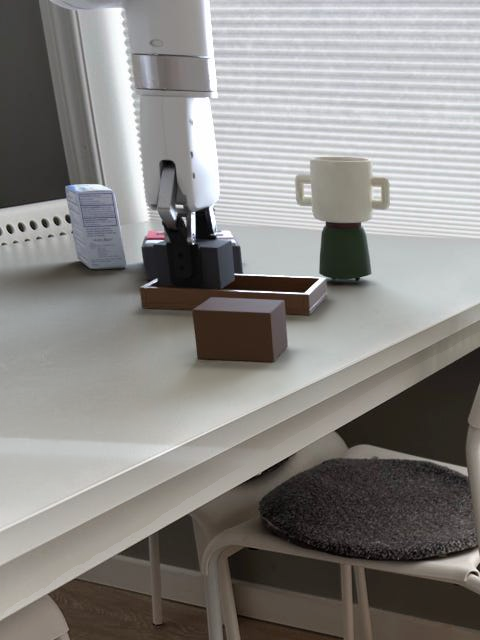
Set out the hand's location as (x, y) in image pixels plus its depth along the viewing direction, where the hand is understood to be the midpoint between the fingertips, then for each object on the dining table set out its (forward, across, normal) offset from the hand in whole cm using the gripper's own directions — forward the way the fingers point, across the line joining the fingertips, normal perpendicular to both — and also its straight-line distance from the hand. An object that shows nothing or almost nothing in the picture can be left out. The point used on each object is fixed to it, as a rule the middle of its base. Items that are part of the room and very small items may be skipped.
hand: (196, 277), depth 99 cm
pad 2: (+2, +21, +10) cm, 23 cm away
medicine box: (+2, -19, -18) cm, 26 cm away
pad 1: (+1, 0, 0) cm, 1 cm away
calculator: (+2, -18, -6) cm, 19 cm away
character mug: (+2, -15, +13) cm, 20 cm away
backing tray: (+2, 0, +4) cm, 5 cm away
